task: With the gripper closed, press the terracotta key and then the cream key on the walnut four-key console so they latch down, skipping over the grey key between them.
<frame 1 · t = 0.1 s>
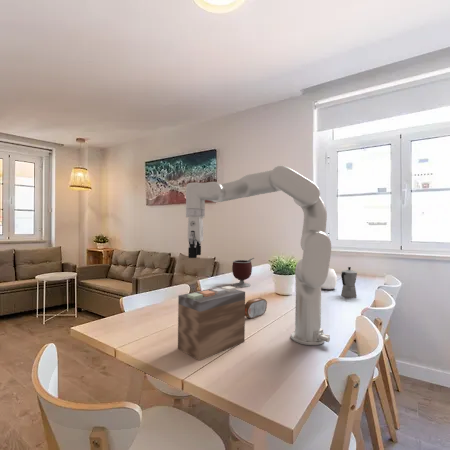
hand: (194, 256, 117), 31 cm above the table, tool pointing down, fingers open, 9 cm apart
grey key: (218, 292, 109), point 19 cm above the table, slide at 0.0 cm
mate gourd: (242, 285, 207), on the table
tin: (255, 316, 140), on the table
console: (212, 345, 107), on the table
cream key: (228, 290, 113), point 19 cm above the table, slide at 0.0 cm
coffeepot: (347, 296, 180), on the table
sage key: (195, 298, 101), point 19 cm above the table, slide at 0.0 cm
terracotta key: (207, 295, 105), point 19 cm above the table, slide at 0.0 cm
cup: (326, 288, 201), on the table
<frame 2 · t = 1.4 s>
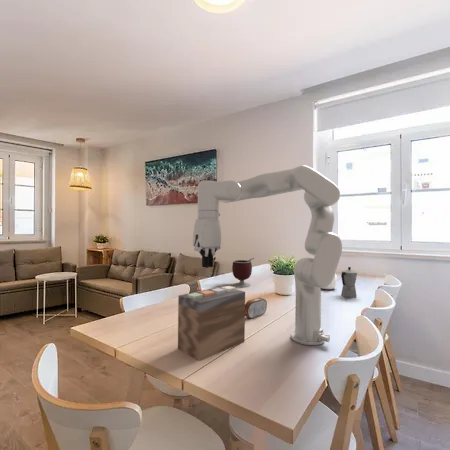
hand: (207, 266, 105), 29 cm above the table, tool pointing down, fingers closed
nothing on the table moved.
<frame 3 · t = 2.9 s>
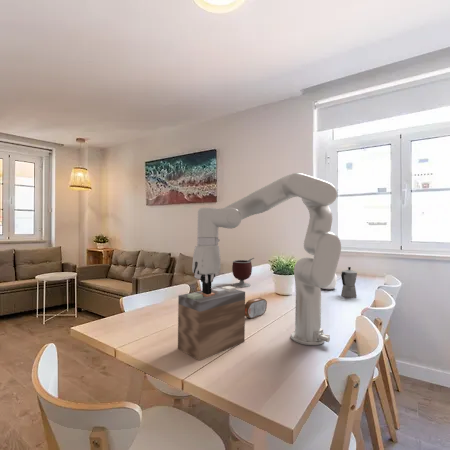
hand: (206, 293, 105), 20 cm above the table, tool pointing down, fingers closed
terracotta key: (207, 296, 105), point 18 cm above the table, slide at 0.4 cm, touching gripper
everything else where it was.
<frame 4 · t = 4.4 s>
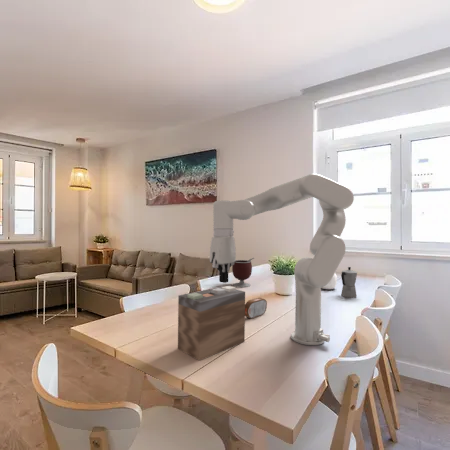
hand: (223, 281, 110), 23 cm above the table, tool pointing down, fingers closed
terracotta key: (207, 298, 105), point 18 cm above the table, slide at 1.2 cm
everything else where it was.
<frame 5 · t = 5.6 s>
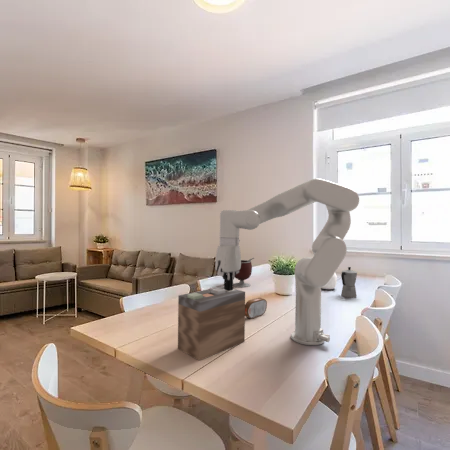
hand: (228, 289, 113), 19 cm above the table, tool pointing down, fingers closed
cream key: (228, 292, 113), point 18 cm above the table, slide at 0.9 cm, touching gripper
everything else where it was.
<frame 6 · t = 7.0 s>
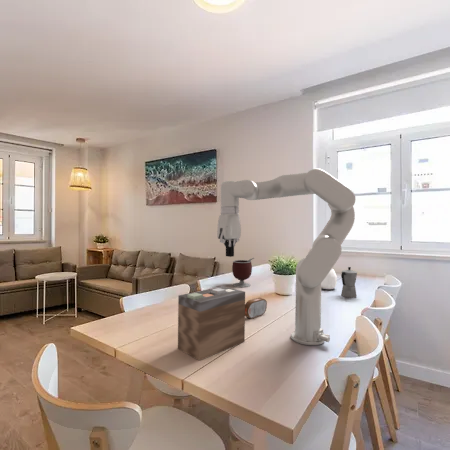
hand: (229, 256, 120), 31 cm above the table, tool pointing down, fingers closed
cream key: (228, 293, 113), point 18 cm above the table, slide at 1.2 cm
everything else where it was.
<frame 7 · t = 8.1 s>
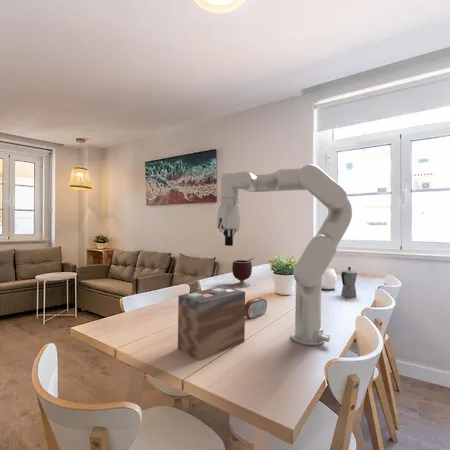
hand: (228, 245, 125), 35 cm above the table, tool pointing down, fingers closed
nothing on the table moved.
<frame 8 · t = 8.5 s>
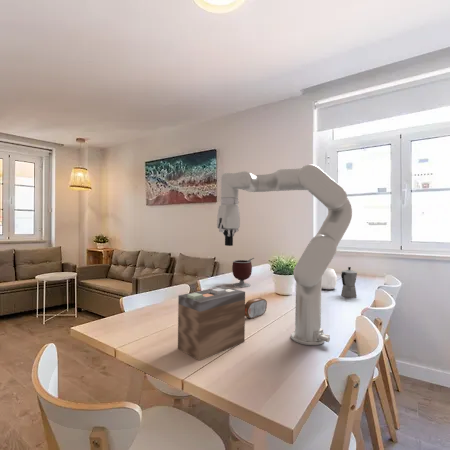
hand: (228, 245, 125), 35 cm above the table, tool pointing down, fingers closed
nothing on the table moved.
at the end: terracotta key slide at 1.2 cm; cream key slide at 1.2 cm; grey key slide at 0.0 cm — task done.
